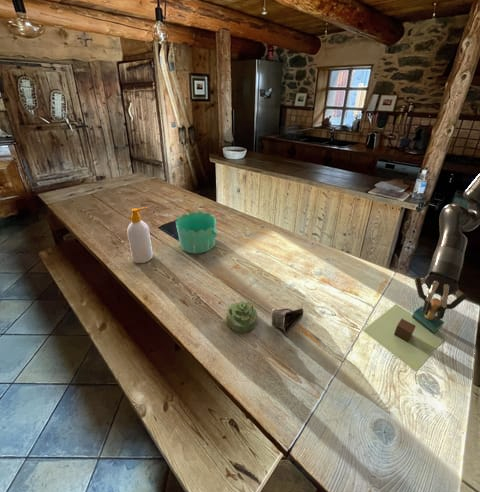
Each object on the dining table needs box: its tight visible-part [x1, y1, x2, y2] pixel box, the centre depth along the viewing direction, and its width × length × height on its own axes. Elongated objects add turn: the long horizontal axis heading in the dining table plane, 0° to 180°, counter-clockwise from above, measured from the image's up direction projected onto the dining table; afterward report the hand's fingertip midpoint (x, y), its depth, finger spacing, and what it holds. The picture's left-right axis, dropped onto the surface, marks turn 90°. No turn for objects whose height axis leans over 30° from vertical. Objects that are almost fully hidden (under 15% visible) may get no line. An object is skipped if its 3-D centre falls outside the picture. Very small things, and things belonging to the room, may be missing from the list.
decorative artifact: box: [225, 301, 258, 333], centre depth 86 cm, size 10×7×10 cm
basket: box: [175, 211, 219, 254], centre depth 125 cm, size 19×18×13 cm
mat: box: [362, 303, 448, 373], centre depth 83 cm, size 20×16×1 cm
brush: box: [412, 297, 445, 334], centre depth 82 cm, size 4×7×11 cm, turn 28°
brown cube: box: [394, 318, 416, 342], centre depth 81 cm, size 4×4×4 cm
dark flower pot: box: [270, 307, 305, 336], centre depth 87 cm, size 10×7×12 cm
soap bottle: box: [126, 207, 154, 264], centre depth 113 cm, size 9×9×24 cm
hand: (431, 316), depth 80 cm, fingers closed on brush, 2 cm apart
